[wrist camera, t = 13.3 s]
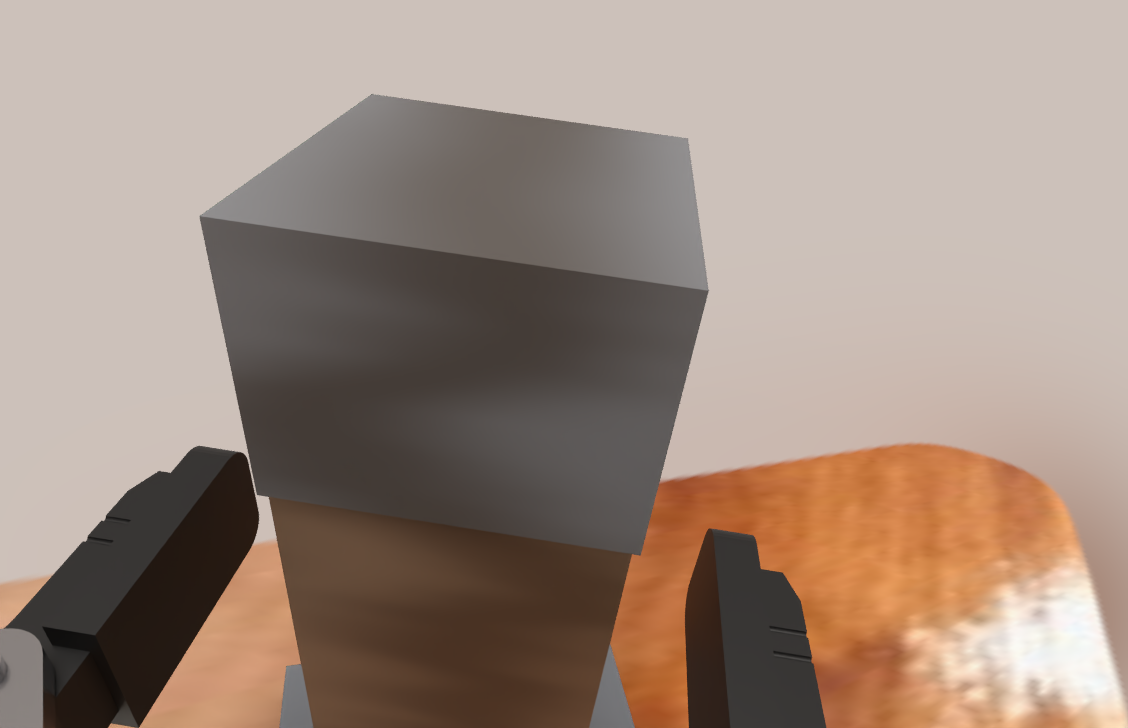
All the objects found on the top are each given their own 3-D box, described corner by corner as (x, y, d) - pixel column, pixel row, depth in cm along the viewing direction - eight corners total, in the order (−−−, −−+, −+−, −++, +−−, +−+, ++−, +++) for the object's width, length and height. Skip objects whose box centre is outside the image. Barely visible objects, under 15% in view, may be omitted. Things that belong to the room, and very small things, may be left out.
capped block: (335, 876, 17) (200, 215, 7) (400, 675, 21) (371, 94, 11) (548, 913, 17) (708, 290, 7) (570, 703, 21) (688, 138, 11)
